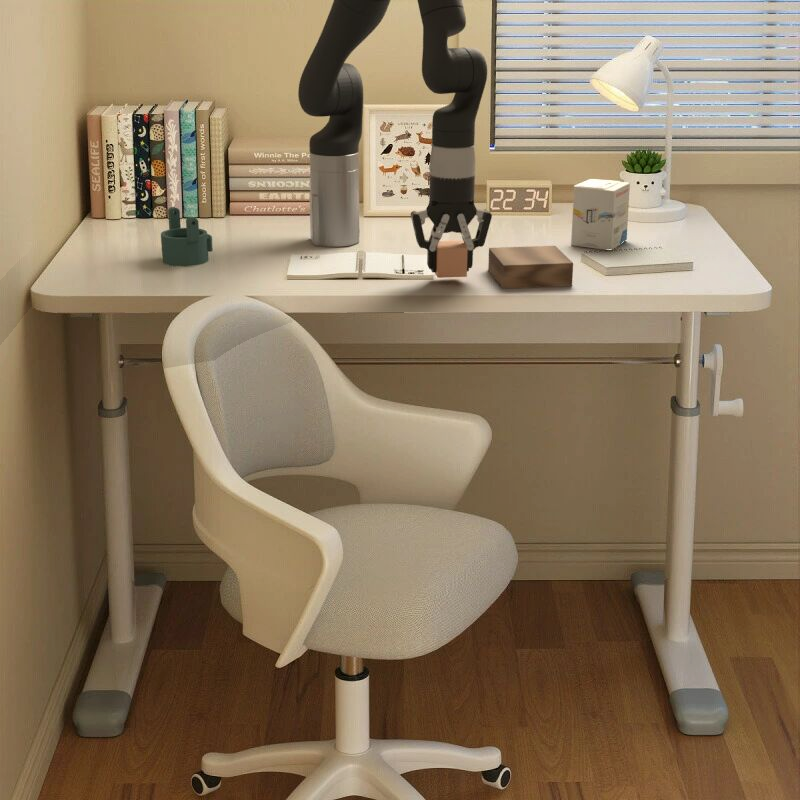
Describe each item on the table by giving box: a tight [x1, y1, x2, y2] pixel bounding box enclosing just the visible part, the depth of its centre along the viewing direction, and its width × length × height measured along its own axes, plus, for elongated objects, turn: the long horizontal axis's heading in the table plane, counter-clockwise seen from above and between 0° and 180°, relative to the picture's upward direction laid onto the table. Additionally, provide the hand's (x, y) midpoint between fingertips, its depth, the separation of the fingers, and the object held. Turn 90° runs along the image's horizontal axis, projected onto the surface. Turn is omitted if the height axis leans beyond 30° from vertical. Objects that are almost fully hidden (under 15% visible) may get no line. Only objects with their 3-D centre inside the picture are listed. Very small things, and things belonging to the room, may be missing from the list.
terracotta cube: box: [434, 240, 468, 279], centre depth 214 cm, size 5×5×5 cm
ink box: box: [570, 178, 631, 250], centre depth 238 cm, size 9×8×12 cm
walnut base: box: [487, 245, 574, 289], centre depth 217 cm, size 12×12×4 cm
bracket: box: [160, 206, 213, 267], centre depth 227 cm, size 9×9×9 cm
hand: (449, 270), depth 214 cm, fingers closed on terracotta cube, 5 cm apart
